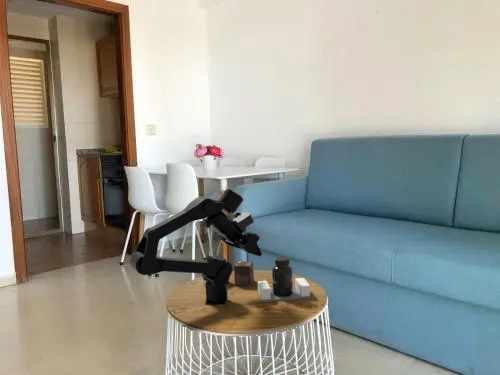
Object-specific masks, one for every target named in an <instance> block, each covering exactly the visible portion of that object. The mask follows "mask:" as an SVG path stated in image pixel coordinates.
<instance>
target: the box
mask: <svg viewBox="0 0 500 375" xmlns="http://www.w3.org/2000/svg"><path fill="white" fill-rule="evenodd" d="M233 274H234V286H249V287H250V286H252V285H253V283H254V281H255V279H254V261H243V260H242V261H237V262H235V264H234V265H233Z"/></svg>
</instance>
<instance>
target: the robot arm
mask: <svg viewBox="0 0 500 375" xmlns="http://www.w3.org/2000/svg"><path fill="white" fill-rule="evenodd" d="M243 202H244V198H243V197H242V195H240V194H238V193H237V192H235V191H233V190H232V189H231V188H225V191H224V192H223V194H222V195H221V197H220V198H219V199H218V200H217V199H216V200H215V199H212V198H208V197H204V196H198V197H196V198H195V199H193V200H192V201H190V202H189V203H188V204H187V206H186V207H185V208H183V209H182V210H181V211H179V212H177V213H175V214H173V215H172V216H170V217H168V218H166V219H164V220H162V221H161V222H158V223H157V224H155V225H153V226H150V227H148V228H146V229H145V230H144V232H143V234H142V237H141V239H140V241H139V243H138V244H137V245H136V248H135V251H134V253H133V254H132V255H131V256H130V259H129V265H130V267H131V268H132V269H133V270H134V271H136V272H137V273H138V274H139V275H140V276H141V275H142V276H148V275H156V274H159V273H162V272H171V273H173V272H174V273H186V274H201V277H202V280H203V279H204V280H205V281H207V282H206V285H205V302H204V303H205V305H219V304H220V305H222V304H223V305H225V304H226V303H227V301H228V299H229V287H228V284H229V282H230V278H231V275H232V274H233V265H232V264H231V262H230V261H227V258H224V257H221V256H219V255H210V254H207V255H206V258H205V259H202V260H201V259H200V260H199V259H190V258H189V259H187V258H175V257H163V256H158V248H159V243H160V240H161V239H163V238H165V237H168V235H170V234H172V233H174V232H176V231H178V230H180V229H181V228H184V227H185V226H187V225H188V224H190V223H192V222H195V221H200V220H202V227H203V228H206V229H209V228H210V227H212V228H213V229H214V230H215V231H217V234H218V240H219V241H220V242H221V243H223V244H225V245H227V246H230V247H232V248H236V249H239V250H242V251H243V252H245V253H248V254H251V255H254V256H257V257H262V255H263V253H262V251H261V249H260V247H259V245H258V241H259V240H260V236H259V235H258V233H255V232H252V231H249V232H246V230H247V229H246V228H247V227H249V226H250V225H251V224H254V223H255V221H254V218H253V217H252V214H251V213H249V212H241V213H240V212H239V211H237V210H238V208H240V206H241V205H242V203H243ZM230 214H232V219H231V218H230V217H229V215H230ZM245 232H246V233H245ZM244 233H245V234H244Z"/></svg>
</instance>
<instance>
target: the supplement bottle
mask: <svg viewBox="0 0 500 375" xmlns="http://www.w3.org/2000/svg"><path fill="white" fill-rule="evenodd" d="M290 264H291V263H290V258H289V257H287V256H277V257H275V258H274V265H273V266H272V268H271V270H272V271H271V273H272V274H271V276H272V277H271V280H272V282H271V284H272V290H273V294H274V295H276V296H280V297H286V296H290V295H291V294H292V293H293V288H294V277H293V276H294V273H293V272H294V271H293V267H292V266H291V265H290Z"/></svg>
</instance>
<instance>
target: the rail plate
mask: <svg viewBox="0 0 500 375" xmlns="http://www.w3.org/2000/svg"><path fill="white" fill-rule="evenodd" d="M294 281H295V282H294V283H295V285H294V287H293V293H292V294H291V295H290V296H286V297H280V296H276V295H274V294H273V289H271V287H270V284H269V283H268V281H267V280H258V281H257V293H258V296H259V298H260V301H261V303H267V302H269V303H271V302H279V301H280V302H281V301H293V300H304V299H306V300H307V299H311V286H310V284H309V282H308V281H307V280H306V279H305V277H297V278H294Z"/></svg>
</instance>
